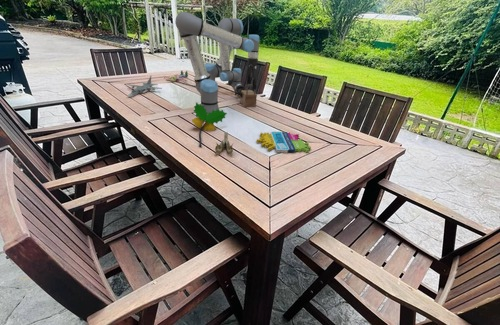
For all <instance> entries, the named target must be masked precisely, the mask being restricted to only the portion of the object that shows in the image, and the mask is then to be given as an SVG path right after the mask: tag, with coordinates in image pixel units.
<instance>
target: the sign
mask: <svg viewBox="0 0 500 325" xmlns="http://www.w3.org/2000/svg"><path fill="white" fill-rule="evenodd" d="M299 136H300V135H299V134H298V133H296V134H294V133H291V132H287V131H270V132H264V133H263V132H260V133H259V139H258V138H257V139H256V143H257V144H261V148H263V147H264V148H265V149H267V151H268V152H271V151H272V150H273V149H275V152H276V153H283V154H285V153H287V154H288V153H290V154H293V153H296V152H298V153H301V152H305V153H310V151H311V150H312V149H311V148H312V146H309V142H304V141H303V139H302V138H299Z"/></svg>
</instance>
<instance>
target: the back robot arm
mask: <svg viewBox="0 0 500 325" xmlns="http://www.w3.org/2000/svg"><path fill="white" fill-rule="evenodd" d="M217 27H218V28H220V29H223V30H225V31H228V32H231V33H233V34H236V35H238V36H240V35H241V34H242V33H243V31H244V25H243V21H241V19H239V18H233V17H232V18H227V17H224V18H222V19H221V20H220V21H219V23H218V25H217ZM218 46H219V58H218V59H217V60H216V61H215V63H213V62H207V63H204V64H205V67H206V71H207V73H208V74H210V77H211V80H214V81H216V79H217V78H219V80H220V81H221V82H229V81H232V83H231V88H232V89H233V93H234V96H237V97H241V98H242V94H241V90H247V88H245V86H243V84H242V69H241V68H239V67H234V68H233V69H232V71H231V62H230V61H231V60H230V59H231V58H230V57H231V54H232V52H233V49H234V48H233V47H232V46H230V45H227V44H224V43H221V42H218ZM165 80H166V81H168V82H171V81H170V79H168V78H165ZM174 83H179V84H182V85H186V86H189V87H195V88H196V85H192V84H189V83H185V82H182V81H179V80H175V81H174ZM248 90H250V88H248ZM252 91H253V92H254V90H252Z"/></svg>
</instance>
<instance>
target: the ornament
mask: <svg viewBox="0 0 500 325" xmlns="http://www.w3.org/2000/svg"><path fill="white" fill-rule="evenodd" d="M219 110H220V108H219V109H217V110H216V111H214V110H212V112H211V113H208V112H206V109H204V106H201V103H198V102H195V105H194V106H193V112H194V113H195V118H192V119H191V122H192V123H193V125H195V127H197V128H198V129H199V130H200V129H201V127H202V126H203V125H204V124H205V125H204V127H203V129H202V130H203V131H206V132H212V131H213V132H214V131H215V130H216V126H215V124H218V123H219V122H223V119H226V115H227V114H228V113H227V112H224V110H223V109H221V110H220V111H219ZM207 113H208V115H207ZM214 123H215V124H214Z"/></svg>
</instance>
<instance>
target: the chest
mask: <svg viewBox="0 0 500 325" xmlns="http://www.w3.org/2000/svg"><path fill="white" fill-rule="evenodd" d="M241 94H242V98H241V97H240V96H239V97H240V99H239V100H240V101H239V103H240V105H242V106H243V107H244V108H255V107H257V97H258V95H257V96H248V97H246V96H245V95H244V94H243V93H241Z"/></svg>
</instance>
